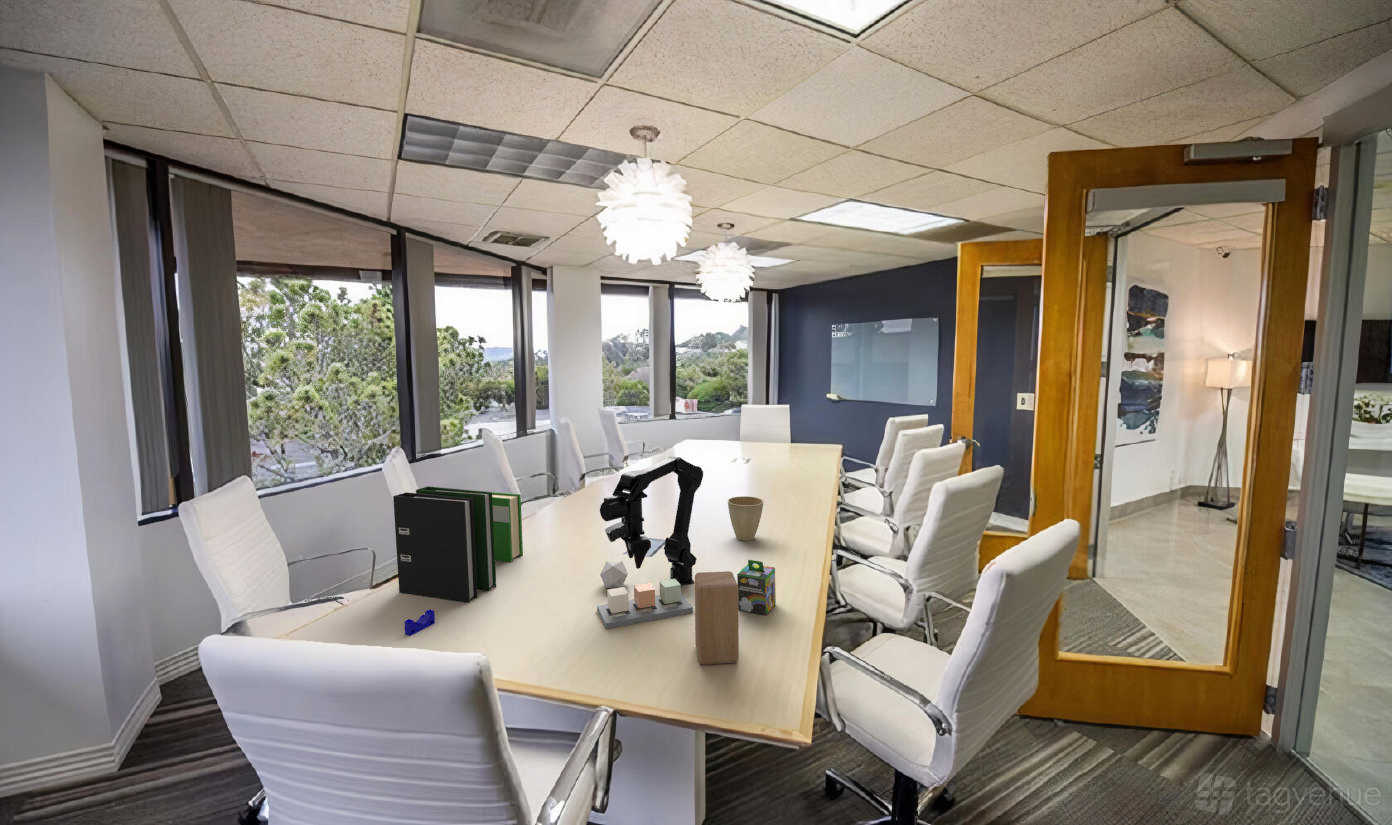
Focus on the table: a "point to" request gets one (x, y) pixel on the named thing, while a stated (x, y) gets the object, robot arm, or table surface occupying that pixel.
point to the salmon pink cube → (644, 595)
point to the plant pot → (745, 516)
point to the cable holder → (419, 623)
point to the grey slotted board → (643, 613)
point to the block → (716, 618)
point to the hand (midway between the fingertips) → (634, 563)
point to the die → (614, 574)
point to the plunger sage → (670, 591)
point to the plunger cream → (618, 600)
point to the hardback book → (507, 526)
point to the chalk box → (756, 588)
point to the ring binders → (445, 543)
